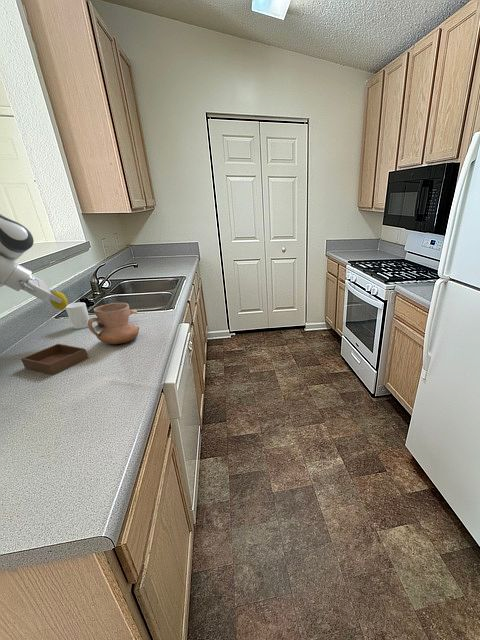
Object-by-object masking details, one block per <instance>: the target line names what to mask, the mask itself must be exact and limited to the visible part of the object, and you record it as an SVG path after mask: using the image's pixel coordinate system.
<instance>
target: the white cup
mask: <svg viewBox="0 0 480 640" xmlns="http://www.w3.org/2000/svg"><path fill="white" fill-rule="evenodd" d="M64 310H65V311H66V313H67V316H68V318H69V320H70V323H71V325H72V327H73V329H77V330H81V329H85V328H88V321H89V320H90V316H89V311H88V307H87V304H86V303H85V302H84V301H83V302H81V301H78V302H71V303H68V305H67V307H66V308H64Z"/></svg>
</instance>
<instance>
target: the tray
mask: <svg viewBox="0 0 480 640" xmlns="http://www.w3.org/2000/svg"><path fill="white" fill-rule="evenodd" d="M88 359H89V355H88V352H87V350H86V348H85V347H84V348H82V347H78V346H72V345H67V344H62V343H56V344H53V345H50V346H48V347H46V348H44V349H41V350H38V351H37V352H33V353H32V354H28V355H26V356H24V357H22V358H21V357H20V360H21V363H22V365H23V367H24V369H27V370H30V371H35V372H39V373H43V374H47V375H52V376H54V375H56V374H58V373H61V372H63V371H64V370H67V369H69V368H70V367H73V366H75V365H78V364H79V363H81V362H83V361H85V360H88Z"/></svg>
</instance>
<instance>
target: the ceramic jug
mask: <svg viewBox="0 0 480 640" xmlns="http://www.w3.org/2000/svg"><path fill="white" fill-rule="evenodd" d="M93 312H94V314H95V316H96V317H92V318H91V317H90V318H89V321H88V327H87V328H88V330H89V331H90V333H92V334H93V335H94V336H95V337H96V338H97V340H99V341H100V342H102V343H103V344H107V345H121V344H126V343H128V342H131V341H133V340H134V339H135V338H137V337H138V335H139V332H140V326H139V325H138V326H137V325H135V324H133V323H131V322H129V318H130V317H131V315H132V314H136V315H137V314H138V310H137V309H131V310H130V305H129V303H127V302H112V303H107V304H103V305H99V306H96V307H94V308H93ZM97 322H99V323H102V324H103V325H104V326H103V328H101V330H100V331H99V333H98V332H96V330H95V329H94V328H93V323H97Z"/></svg>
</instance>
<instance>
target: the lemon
mask: <svg viewBox="0 0 480 640" xmlns="http://www.w3.org/2000/svg"><path fill="white" fill-rule="evenodd" d="M53 291H54V292H53V293H52V294H53V295H55V296H57V297H59V298H61V299H62V302H61V303H58V302H55V301H53V300H50V299H49V301H50V304H51V306H52V307H53V308H54V309H57V310H59V311H64V310H65V308H66V307H67V305H68V304H69V302H68V298H67V296H66V295H65V294H64V293H63V292H61V291H58V290H53Z"/></svg>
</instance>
